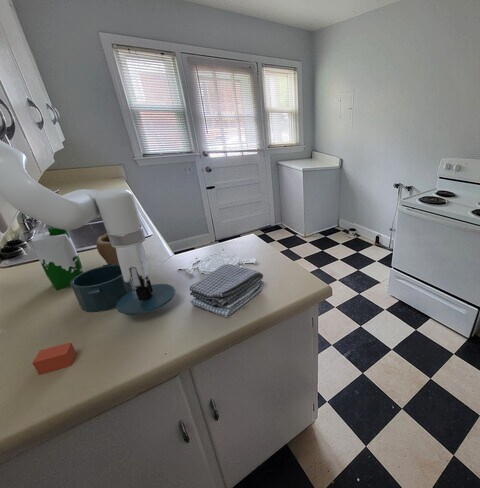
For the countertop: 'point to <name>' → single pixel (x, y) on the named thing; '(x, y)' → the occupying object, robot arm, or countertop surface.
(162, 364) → the countertop surface
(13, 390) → the countertop surface
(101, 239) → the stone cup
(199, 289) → the towel
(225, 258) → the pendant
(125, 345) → the countertop surface
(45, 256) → the milk carton
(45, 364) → the red block
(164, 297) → the lid
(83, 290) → the pot
